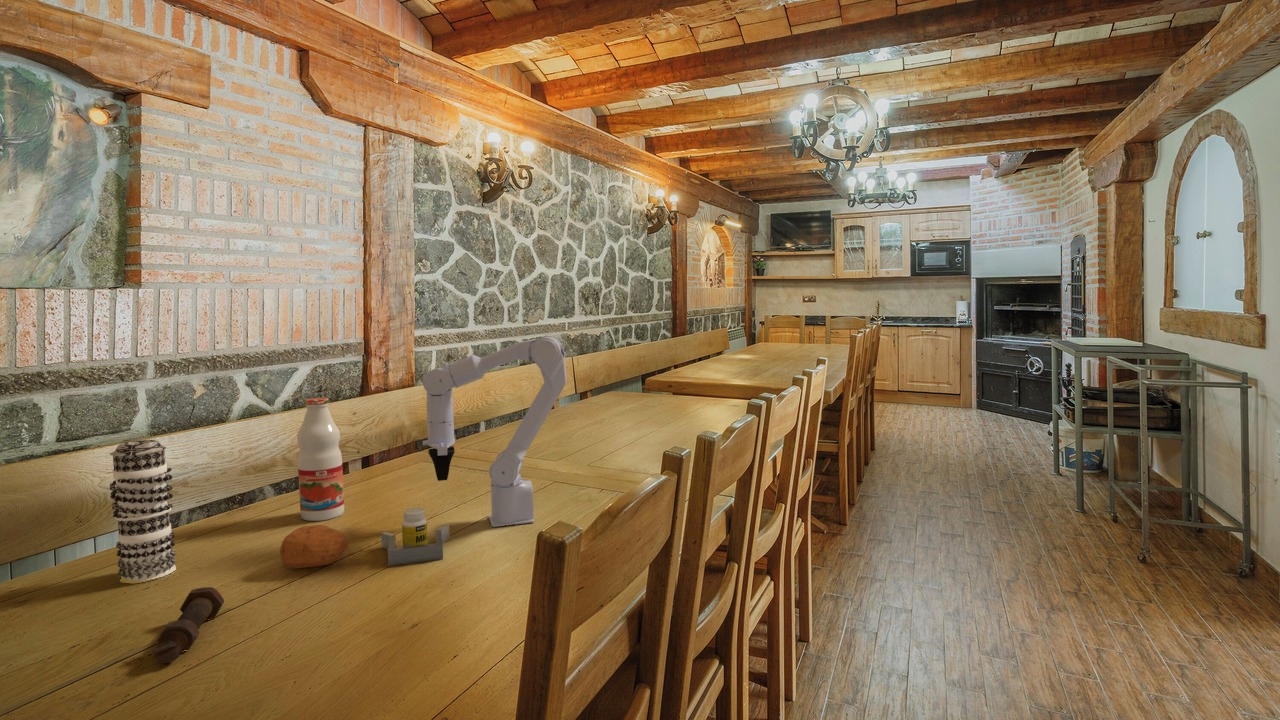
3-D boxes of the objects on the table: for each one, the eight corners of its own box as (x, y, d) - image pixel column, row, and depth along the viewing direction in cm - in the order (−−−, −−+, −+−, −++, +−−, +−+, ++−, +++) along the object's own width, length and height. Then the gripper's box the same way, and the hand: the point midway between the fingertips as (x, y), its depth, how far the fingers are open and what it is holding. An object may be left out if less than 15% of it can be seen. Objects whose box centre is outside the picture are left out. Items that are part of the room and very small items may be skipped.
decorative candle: (191, 567, 121) (182, 438, 119) (139, 588, 112) (128, 449, 110) (157, 561, 124) (148, 435, 122) (104, 581, 115) (93, 445, 113)
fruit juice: (345, 507, 157) (340, 395, 155) (343, 518, 149) (338, 400, 146) (302, 512, 154) (296, 397, 151) (298, 524, 145) (291, 403, 142)
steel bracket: (449, 538, 136) (448, 524, 135) (452, 557, 125) (451, 543, 125) (381, 546, 131) (381, 532, 131) (378, 567, 120) (378, 552, 120)
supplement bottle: (418, 557, 125) (416, 515, 125) (397, 554, 127) (396, 513, 126) (432, 548, 130) (431, 508, 129) (412, 546, 131) (411, 506, 131)
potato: (301, 555, 127) (299, 519, 126) (357, 555, 126) (355, 519, 126) (273, 575, 118) (271, 535, 117) (333, 575, 117) (331, 536, 117)
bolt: (161, 680, 88) (200, 625, 102) (196, 658, 89) (230, 606, 103) (133, 649, 86) (177, 597, 100) (169, 627, 87) (208, 579, 101)
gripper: (421, 416, 149) (423, 473, 150) (422, 427, 136) (424, 490, 137) (452, 415, 152) (454, 470, 153) (456, 425, 138) (458, 486, 139)
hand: (442, 479), depth 145 cm, fingers closed
